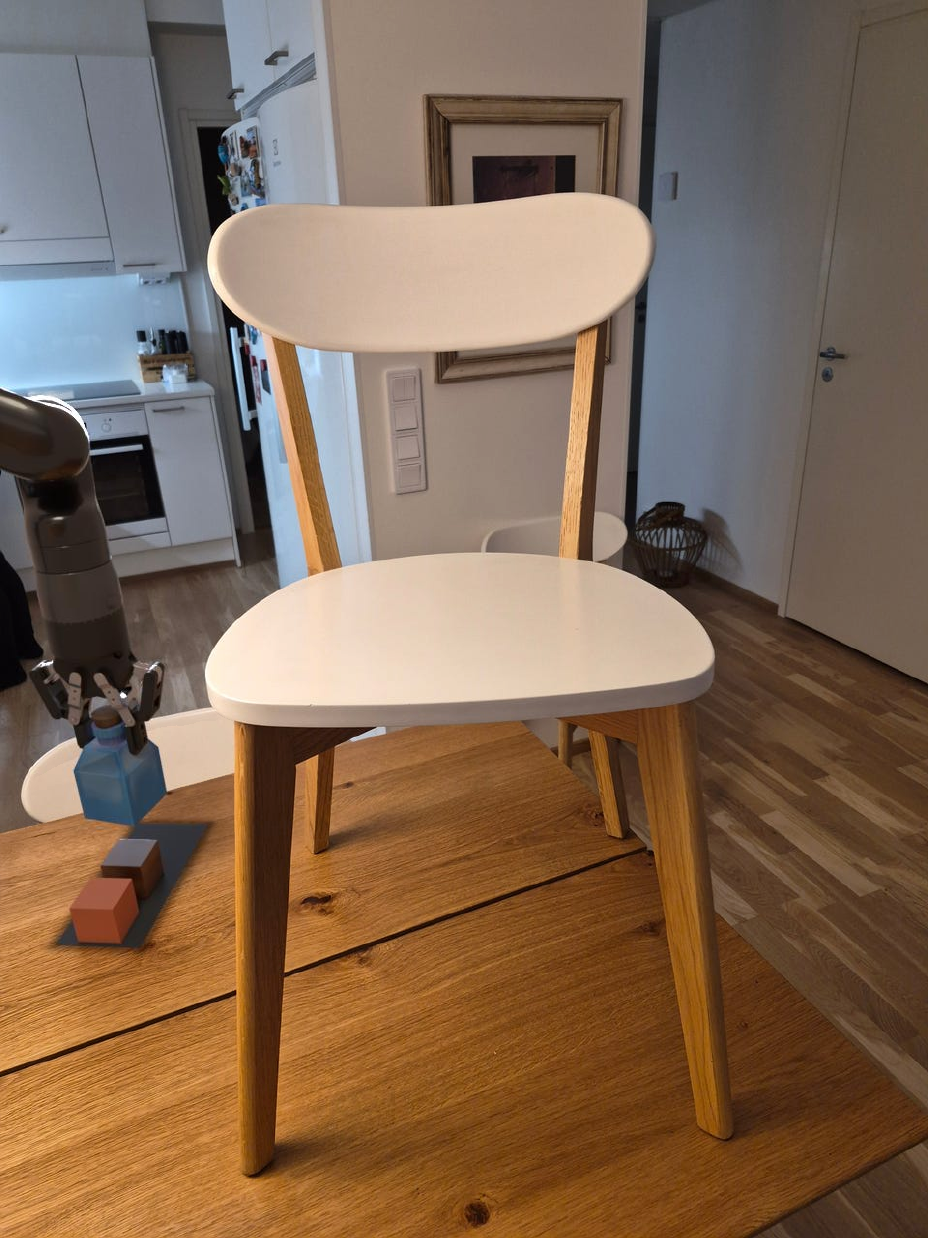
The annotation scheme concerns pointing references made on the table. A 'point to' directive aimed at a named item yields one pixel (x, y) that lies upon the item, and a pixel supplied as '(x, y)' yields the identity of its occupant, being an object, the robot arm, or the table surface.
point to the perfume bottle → (117, 773)
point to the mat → (172, 867)
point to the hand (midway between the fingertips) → (114, 749)
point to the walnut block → (135, 864)
